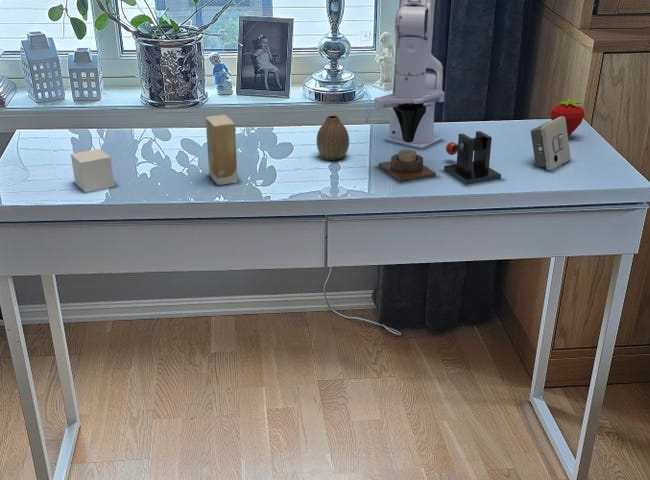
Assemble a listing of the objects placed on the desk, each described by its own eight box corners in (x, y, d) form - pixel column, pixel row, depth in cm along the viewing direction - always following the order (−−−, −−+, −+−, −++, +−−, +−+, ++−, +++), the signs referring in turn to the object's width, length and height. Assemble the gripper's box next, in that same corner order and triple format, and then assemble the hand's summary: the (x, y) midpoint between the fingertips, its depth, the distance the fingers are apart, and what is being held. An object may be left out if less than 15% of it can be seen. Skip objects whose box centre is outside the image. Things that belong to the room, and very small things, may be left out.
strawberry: (544, 134, 206) (549, 90, 201) (576, 133, 206) (583, 89, 201) (551, 142, 201) (557, 97, 196) (584, 141, 201) (591, 96, 196)
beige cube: (75, 183, 179) (70, 153, 176) (104, 177, 182) (100, 148, 179) (85, 192, 175) (80, 162, 172) (114, 186, 178) (110, 157, 175)
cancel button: (395, 158, 184) (395, 150, 183) (410, 156, 185) (411, 148, 184) (403, 164, 181) (403, 155, 180) (419, 161, 182) (419, 153, 181)
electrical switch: (550, 172, 184) (552, 127, 180) (527, 169, 187) (528, 124, 183) (570, 160, 191) (573, 116, 186) (548, 158, 194) (550, 114, 189)
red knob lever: (444, 156, 189) (442, 143, 188) (455, 154, 190) (453, 142, 189) (473, 151, 178) (471, 137, 178) (484, 149, 179) (482, 136, 178)
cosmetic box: (208, 175, 183) (204, 116, 176) (229, 172, 184) (225, 113, 178) (217, 186, 178) (213, 125, 171) (238, 183, 179) (235, 122, 173)
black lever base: (443, 171, 185) (446, 131, 181) (477, 165, 188) (480, 126, 183) (466, 185, 178) (469, 144, 174) (500, 179, 181) (504, 139, 176)
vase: (353, 154, 194) (353, 113, 189) (343, 164, 189) (343, 123, 184) (323, 150, 196) (322, 110, 191) (312, 160, 190) (311, 119, 186)
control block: (378, 167, 187) (378, 153, 185) (412, 162, 190) (412, 148, 188) (400, 183, 179) (401, 168, 178) (435, 177, 182) (436, 163, 180)
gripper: (386, 80, 168) (384, 151, 175) (454, 72, 173) (449, 141, 180) (370, 72, 174) (368, 141, 181) (435, 64, 179) (432, 131, 186)
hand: (407, 140), depth 181 cm, fingers closed
